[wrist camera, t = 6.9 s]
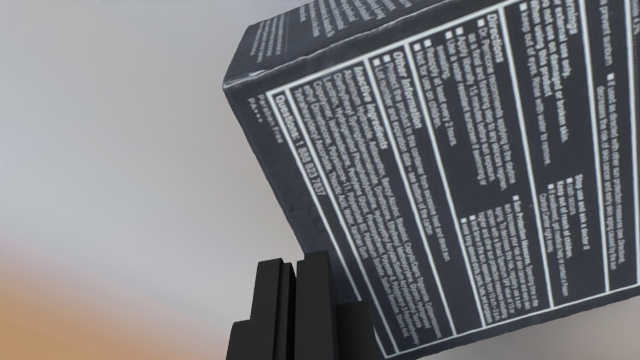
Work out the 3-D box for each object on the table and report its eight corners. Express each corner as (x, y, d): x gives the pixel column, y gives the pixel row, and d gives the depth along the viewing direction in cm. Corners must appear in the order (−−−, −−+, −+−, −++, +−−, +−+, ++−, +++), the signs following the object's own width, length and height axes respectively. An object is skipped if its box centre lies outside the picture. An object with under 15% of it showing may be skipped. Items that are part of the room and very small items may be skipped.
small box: (345, 255, 21) (590, 180, 19) (362, 385, 15) (710, 294, 14) (245, 19, 16) (567, -106, 14) (213, 82, 10) (743, -115, 9)
